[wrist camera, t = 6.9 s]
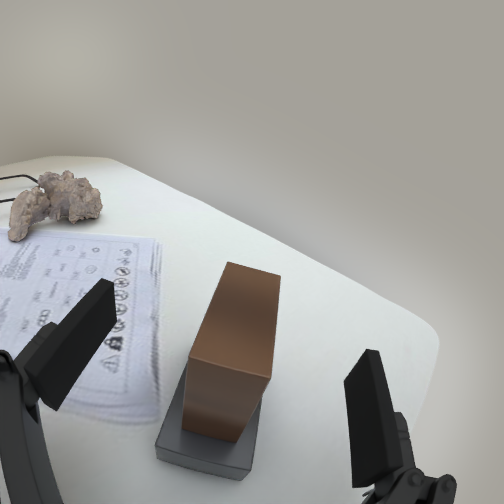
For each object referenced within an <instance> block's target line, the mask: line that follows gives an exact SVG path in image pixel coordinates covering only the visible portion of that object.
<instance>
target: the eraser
mask: <svg viewBox="0 0 504 504" xmlns="http://www.w3.org/2000/svg"><path fill="white" fill-rule="evenodd" d="M280 280H281V276H280V275H276V274H272V273H268V272H265V271H261V270H257V269H253V268H250V267H246V266H242V265H239V264H235V263H231V262H227V264H226V266H225V269H224V271H223V273H222V276H221V278H220V280H219V283H218V285H217V288H216V290H215V292H214V295H213V297H212V300H211V302H210V304H209V307H208V309H207V312H206V314H205V316H204V319H203V321H202V324H201V326H200V329H199V331H198V333H197V336H196V338H195V341H194V343H193V346H192V348H191V351H190V353H189V356H188V361H187V363H186V366H185V368H184V371H183V373H182V376H181V378H180V381H179V383H178V386H177V388H176V391H175V393H174V396H173V399H172V401H171V404H170V406H169V409H168V411H167V414H166V417H165V419H164V422H163V424H162V427H161V430H160V432H159V435H158V438H157V440H156V443H155V449H156V454H157V458H158V459H160V460H163V461H166V462H169V463H172V464H176V465H179V466H182V467H185V468H189V469H192V470H196V471H200V472H204V473H208V474H212V475H216V476H221V477H225V478H230V479H235V480H242V479H243V478H244V477H245V476H246V475H247V474H248V473H249V472H250V471H251V469H252V463H253V456H254V450H255V443H256V437H257V430H258V423H259V416H260V409H261V402H262V395H263V393H264V391H265V389H266V387H267V385H268V383H269V381H270V379H271V374H272V365H273V355H274V345H275V335H276V325H277V314H278V303H279V292H280Z"/></svg>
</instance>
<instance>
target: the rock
mask: <svg viewBox="0 0 504 504" xmlns="http://www.w3.org/2000/svg"><path fill="white" fill-rule="evenodd" d="M37 183H38V184H39V186H38V187H35V188H33V189H31V191H28V190H25V191H23V192H22V193H21V194H20V195H19V196H18V197H17V198H16V199H15V200H14V202H13V204H12V207H11V215H10V222H9V226H10V228H11V229H10V231H8V237H9V239H10V240H12V241H20V240H22V239H23V238H24V237H25V236H26V234H27V231H28V228H29V227H30V226H31V225H32V224H34V223H37V222H40V221H43V220H45V218H46V217H48V216H49V217H50V219H55V220H57V221H58V220H59V219H60V218H61V216H67V217H69V220H70V222H72V223H73V224H76V221H77V220H79V219H83V220H84V217H85V218H86V219H88V218H97V217H98V214H100V211H101V209H102V208H103V206H102V204H101V199H100V192H99V190H98V189H96V188H92V186H91V185H90V184H89V181H88V180H87V179H86V178H79V179H77V178H75V179H74V175H73V173H71V172H69V171H65V172H63V175H61V176H60V175H58V174H56V173H51V172H45V173H44V175H40V176H39V180H38V182H37ZM40 187H41V188H44V190H45V193H43V192H42V190H40V189H39V188H40Z"/></svg>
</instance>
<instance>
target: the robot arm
mask: <svg viewBox="0 0 504 504" xmlns="http://www.w3.org/2000/svg"><path fill="white" fill-rule="evenodd" d="M116 322H117V317H116V306H115V294H114V282H111V281H108V280H106V279H103V278H101V279H100V280H99V281H98V282H97V283H96V284H95V285H94V286H93V288H92V289H91V290H90V291H89V292H88V293H87V294H86V295H85V296H84V297H83V298H82V299H81V300H80V301H79V302H78V303H77V304H76V306H75V307H74V308H73V309H72V310H71V311H70V312H69V313H68V314H67V315H66V317H65V318H64V319H63V320H62V321H61V322H60V323H59V324H58V325H57V324H55V323H53V322H50V323H48V324H47V325H45V326H43V327H42V328H41V329H40V330H39V331H38V332H37V334H36V335H35V336H34V337H33V338H32V339H31V341H30V342H29V343H28V344H27V345H26V346H25V347H24V349H23V350H22V351H21V352H20V353H19V355H18V356H17V357H16V358H15V360H14V361H13V359H12V357H11V356H10V354H9V353H8V352H7V351H5V350H0V458H1V464H2V469H3V473H4V478H5V482H6V486H7V490H8V494H9V498H10V501H11V504H64V503H63V501H62V498H61V495H60V492H59V489H58V486H57V483H56V480H55V477H54V474H53V470H52V467H51V463H50V459H49V456H48V452H47V447H46V443H45V438H44V434H43V429H42V423H41V417H40V411H39V405H38V402H37V401H38V400H39V398H41V399H42V401H43V403H44V404H46V405H47V406H49V407H50V408H52V409H53V410H55V411H58V409H59V407H60V406H61V404H62V402H63V401H64V399H65V398H66V396H67V394H68V393H69V391H70V390H71V388H72V387H73V385H74V383H75V382H76V380H77V379H78V377H79V376H80V374H81V373H82V371H83V370H84V368H85V367H86V365H87V364H88V362H89V361H90V359H91V358H92V356H93V355H94V354H95V352H96V351H97V349H98V348H99V346H100V345H101V343H102V342H103V341H104V339H105V338H106V336H107V335H108V334H109V332H110V331H111V329H112V328H113V327H114V325H115V324H116ZM344 388H345V397H346V406H347V416H348V426H349V438H350V451H351V468H352V488H361V487H368V486H370V485H372V484H374V485H375V488H374V489H372V490H370V491H368V492H366V493H364V494H363V495H362V496H363V497H364V496H366V495H368V494H369V495H368V496H367V497H366V498H365V500H364V501H363V502H362V503H361V504H453V503H454V498H455V493H456V488H457V483H456V480H455V479H454V477H453V476H451V475H449V474H446V475H443V476H441V477H440V478H433V477H428V476H425V475H424V473H423V472H422V471H421V470H420V469H418V468H416V466H415V462H414V456H413V451H412V446H411V441H410V439H409V438H410V436H409V432H408V426H407V422H406V420H405V418H404V416H403V415H402V413H401V412H394V410H393V405H392V401H391V397H390V392H389V388H388V384H387V380H386V376H385V372H384V368H383V365H382V361H381V357H380V354H379V351H376V350H370V349H366V350H365V352H364V353H363V355H362V356H361V357H360V359H359V360H358V362H357V363H356V365H355V366H354V368H353V369H352V370H351V372H350V373H349V374H348V376H347V377H346V379H345V380H344ZM0 504H1V500H0Z"/></svg>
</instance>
